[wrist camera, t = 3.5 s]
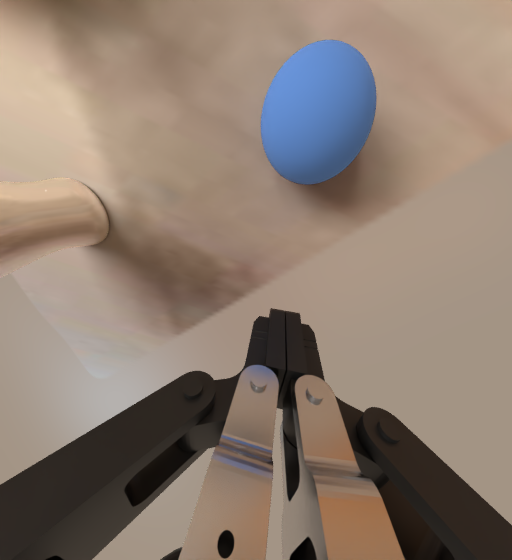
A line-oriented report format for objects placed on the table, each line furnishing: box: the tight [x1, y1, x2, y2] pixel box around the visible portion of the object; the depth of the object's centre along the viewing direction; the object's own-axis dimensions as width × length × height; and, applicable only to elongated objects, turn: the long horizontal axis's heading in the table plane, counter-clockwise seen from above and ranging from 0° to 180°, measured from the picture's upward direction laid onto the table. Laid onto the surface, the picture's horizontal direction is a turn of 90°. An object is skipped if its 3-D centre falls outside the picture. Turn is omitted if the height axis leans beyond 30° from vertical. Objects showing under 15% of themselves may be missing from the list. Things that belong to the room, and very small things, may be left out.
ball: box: [261, 40, 376, 184], centre depth 11 cm, size 6×6×6 cm
